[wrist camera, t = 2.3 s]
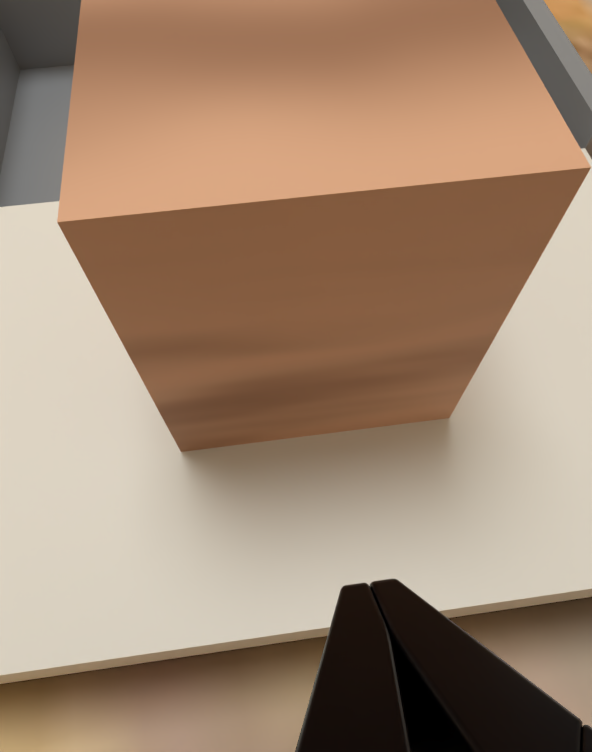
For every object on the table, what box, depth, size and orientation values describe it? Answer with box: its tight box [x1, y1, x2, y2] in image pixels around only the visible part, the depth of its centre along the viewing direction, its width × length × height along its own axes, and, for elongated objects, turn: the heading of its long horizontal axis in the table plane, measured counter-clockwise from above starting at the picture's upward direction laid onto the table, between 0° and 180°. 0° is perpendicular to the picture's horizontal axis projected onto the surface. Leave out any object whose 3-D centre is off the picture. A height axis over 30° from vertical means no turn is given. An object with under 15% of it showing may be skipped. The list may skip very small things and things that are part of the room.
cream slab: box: [0, 148, 592, 684], centre depth 17 cm, size 14×22×3 cm, turn 98°
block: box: [57, 0, 591, 452], centre depth 12 cm, size 7×7×8 cm
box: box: [0, 0, 592, 207], centre depth 23 cm, size 13×24×4 cm, turn 98°
